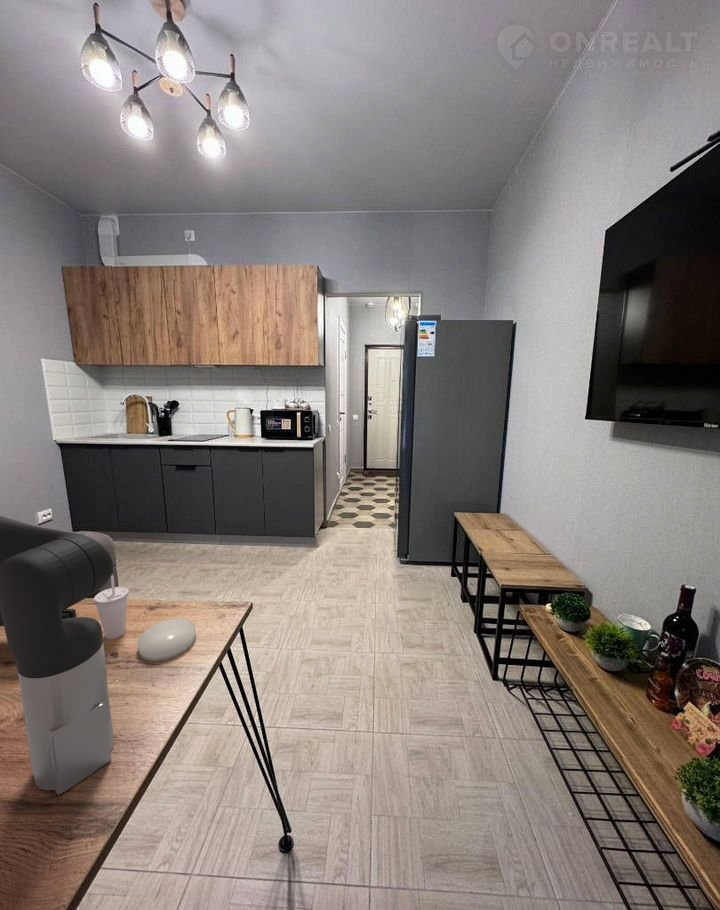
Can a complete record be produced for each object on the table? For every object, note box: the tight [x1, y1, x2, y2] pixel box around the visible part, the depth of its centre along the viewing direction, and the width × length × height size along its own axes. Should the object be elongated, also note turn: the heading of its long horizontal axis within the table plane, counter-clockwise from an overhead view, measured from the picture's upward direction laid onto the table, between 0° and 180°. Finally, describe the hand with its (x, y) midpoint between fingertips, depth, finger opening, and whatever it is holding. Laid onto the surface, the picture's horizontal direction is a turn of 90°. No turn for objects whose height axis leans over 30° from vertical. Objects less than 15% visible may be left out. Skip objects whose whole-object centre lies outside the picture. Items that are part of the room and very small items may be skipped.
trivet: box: [137, 618, 197, 662], centre depth 77 cm, size 11×11×2 cm
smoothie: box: [93, 574, 130, 640], centre depth 79 cm, size 6×6×14 cm
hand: (87, 602), depth 78 cm, fingers open, 8 cm apart
